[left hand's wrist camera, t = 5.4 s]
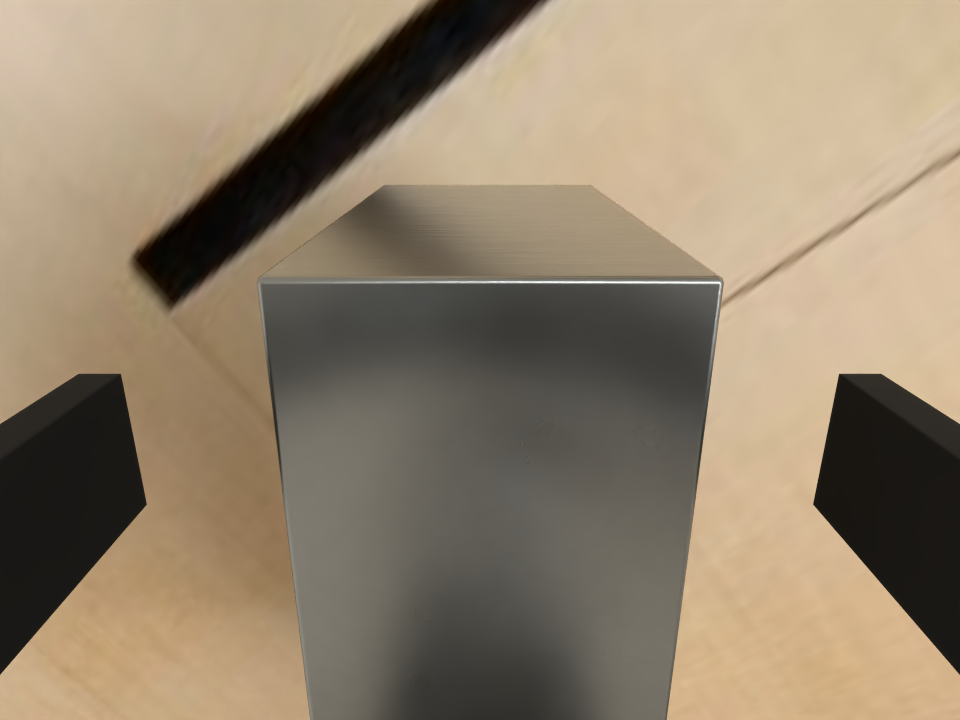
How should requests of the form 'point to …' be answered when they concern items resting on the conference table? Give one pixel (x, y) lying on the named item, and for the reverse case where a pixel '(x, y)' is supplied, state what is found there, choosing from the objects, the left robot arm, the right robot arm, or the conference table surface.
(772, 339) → the conference table surface
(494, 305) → the box
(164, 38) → the conference table surface
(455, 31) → the conference table surface
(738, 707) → the conference table surface
